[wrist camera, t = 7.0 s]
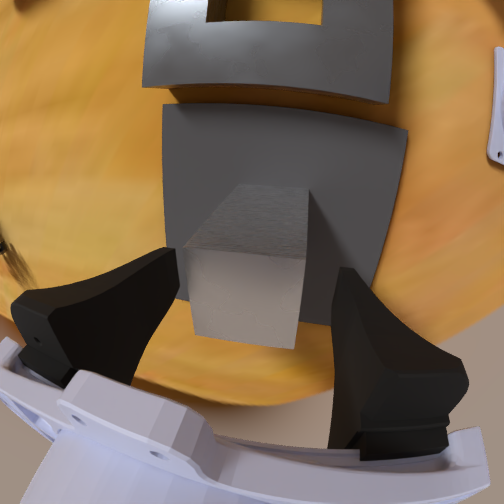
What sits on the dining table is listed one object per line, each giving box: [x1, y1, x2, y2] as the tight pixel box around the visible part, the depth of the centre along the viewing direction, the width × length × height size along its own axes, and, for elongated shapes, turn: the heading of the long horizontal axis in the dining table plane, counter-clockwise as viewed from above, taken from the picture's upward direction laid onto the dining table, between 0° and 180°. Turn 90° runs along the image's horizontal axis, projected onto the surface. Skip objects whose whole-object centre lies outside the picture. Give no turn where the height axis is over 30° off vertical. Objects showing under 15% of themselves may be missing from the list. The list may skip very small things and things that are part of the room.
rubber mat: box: [162, 103, 408, 326], centre depth 17 cm, size 14×14×1 cm
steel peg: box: [183, 184, 309, 349], centre depth 13 cm, size 4×4×8 cm
